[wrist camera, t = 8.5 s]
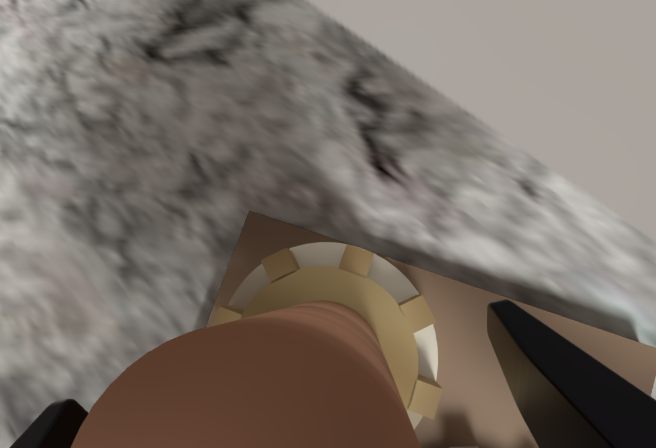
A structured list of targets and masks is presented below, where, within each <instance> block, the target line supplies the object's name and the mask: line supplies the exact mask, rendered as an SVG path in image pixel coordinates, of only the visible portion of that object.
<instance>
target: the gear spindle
mask: <svg viewBox="0 0 656 448" xmlns="http://www.w3.org/2000/svg"><path fill="white" fill-rule="evenodd" d="M373 255H374V253H372V252H370V251H367V250H364V249H361V248H358V247H355V246H352V245H349V244H347V245H346V248H345V251H344V254H343V257H342V259H341V262H340V265H339V267H333V266H313V267H305V268H302V269H300V267H299V265H298V263H297V261H296V258H295V256H294V254H293V252H292V251H291V250H289V249H288V248H285V249H283V250H280V251H278V252H276V253H274V254H272V255H270V256H268V257H266V258H264V259H262V260H261V262H262V264H263V267H264V269H265V271H266V273H267V275H268V278H269V280H270V282H271V283H269V284H268V285H267V286H265V287H264V288H263V289H262V290H261V291H260V292H259V293H258V294H257V295H256V296H255V297H254V298H253V299H252V301H251V302H250V303H249V304H248V306H247V307H246V309H245V310H243V309H241V308H238V307H235V306H232V305H226V306H219V308H218V311H217V313H216V316H215V319H214V321H213V324H212V326H211V327H208V328H204V329H200V330H196V331H192V332H189V333H187V334H184V335H182V336H179V337H177V338H174V339H172V340H170V341H167V342H166V343H164V344H162V345H160V346H159V347H157V348H155V349H153V350H152V351H150V352H148V353H147V354H145V355H144V356H143V357H141V358H140V359H139V360H137V361H136V362H135V363H133V364H132V365H131V366H129V367H128V368H127V369H126V370H125V371H124V372H123V373H122V374H121V375H120V376H119V377H118V378H117V379H116V380H115V381H114V382H113V383H112V384H110V386H109V387H108V388H107V389H106V391H105V392H104V393H103V394H102V396H101V397H100V398H99V399H98V401H97V402H96V403H95V404H94V406H93V407H92V409H91V411H90V412H89V414H88V415H87V417H86V419H85V420H84V422H83V423H82V425H81V427H80V429H79V431H78V433H77V435H76V437H75V439H74V441H73V444H72V446H71V448H421V446H420V444H419V441H418V439H417V436H416V434H415V431H414V429H413V426H412V423H411V421H410V418H409V416H408V413H407V411H408V410H410V411H412V412H415V413H417V414H420V415H423V416H425V417H428V418H431V419H433V420H434V417H435V414H436V410H437V407H438V404H439V400H440V397H441V394H442V390H443V389H442V388H441V386H440V385H439V384H438V383H437V382H436V381H435V380H433V379H430V378H428V377H425V376H422V375H419V374H418V353H417V346H416V341H415V338H414V334H413V333H415V332H417V331H420V330H422V329H424V328H426V327H428V326H430V325H432V324H434V323H436V320H435V318H434V316H433V314H432V313H431V311H430V309H429V307H428V305H427V303H426V301H425V299H424V297H423V295H418V294H417V295H415V296H413V297H410V298H408V299H406V300H404V301H402V302H400V303H398V304H397V302H396V301H395V300H394V298H393V297H392V296H391V295H390V294H389V293H388V292H387V291H386V290H385V289H383V288H382V287H381V286H380V285H378V284H377V283H376V282H374V281H373V280H371V279H369V278H367V277H366V276H367V273H368V270H369V267H370V264H371V261H372V258H373Z"/></svg>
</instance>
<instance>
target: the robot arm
mask: <svg viewBox="0 0 656 448" xmlns="http://www.w3.org/2000/svg"><path fill="white" fill-rule="evenodd" d="M487 333H488V336H489V339H490V342H491V344H492V347H493V349H494V352H495V354H496V356H497V359H498V361H499V364H500V366H501V369H502V371H503V374H504V376H505V378H506V381H507V383H508V386H509V388H510V391H511V393H512V396H513V398H514V400H515V403H516V405H517V407H518V409H519V411H520V413H521V415H522V417H523V419H524V421H525V423H526V425H527V426H528V428H529V430H530V432H531V434H532V436H533V438H534V439H535V441H536V443H537V445H538V447H539V448H656V400H655V399H653V398H652V397H650V396H649V395H647V394H646V393H645V392H643V391H642V390H640V389H639V388H637V387H636V386H634V385H633V384H631V383H630V382H629V381H627V380H626V379H624V378H623V377H621V376H620V375H618V374H617V373H615V372H614V371H613V370H611V369H610V368H608V367H607V366H605V365H604V364H602V363H601V362H599V361H598V360H597V359H595V358H594V357H592V356H591V355H589V354H588V353H586V352H585V351H583V350H582V349H581V348H579V347H578V346H576V345H575V344H573V343H572V342H570V341H569V340H567V339H566V338H565V337H563V336H562V335H560V334H559V333H557V332H556V331H554V330H553V329H552V328H550V327H549V326H547V325H546V324H544V323H543V322H541V321H540V320H538V319H537V318H536V317H534V316H533V315H531V314H530V313H528V312H527V311H525V310H524V309H522V308H521V307H520V306H518V305H517V304H515V303H514V302H512V301H511V300H508V299H502V300H498V301H494V302H490V303H489V304H488V306H487ZM88 414H89V413H88V412H87V411H86V410H85V409H84V408H83V407H82V406H81V405H80V404H79V403H78V402H77V401H75V400H74V399H66V400H62V401H57V402H54V403H52V404H50V405H49V406H48V407H47V408H46V409H45V410H44V411H43V412H42V413H41V415H40V416H39V417H38V418H37V419H36V420H35V421H34V422H33V423H32V424H31V425H30V426H29V427H28V428H27V430H26V431H25V432H24V433H23V434H22V435H21V436H20V437H19V438H18V439H17V440H16V441H15V442H14V444H13V445H12V446H11V447H10V448H71V446H72V444H73V441H74V439H75V437H76V435H77V433H78V431H79V429H80V427H81V425H82V423H83V422H84V420H85V419H86V417H87V415H88Z"/></svg>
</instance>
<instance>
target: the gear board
mask: <svg viewBox="0 0 656 448" xmlns="http://www.w3.org/2000/svg"><path fill="white" fill-rule="evenodd" d="M346 245H347V243H344V242H341V241H338V240H335V239H332V238H329V237H326V236H323V235H320V234H317V233H314V232H311V231H308V230H305V229H302V228H300V227H297V226H294V225H291V224H288V223H285V222H282V221H279V220H276V219H273V218H270V217H267V216H264V215H261V214H258V213H255V212H252V211H249V213H248V216H247V218H246V221H245V224H244V226H243V229H242V232H241V234H240V237H239V240H238V242H237V245H236V248H235V250H234V253H233V256H232V258H231V261H230V264H229V266H228V269H227V272H226V274H225V277H224V280H223V282H222V285H221V288H220V290H219V293H218V295H217V298H216V301H215V303H214V306H213V309H212V311H211V314H210V317H209V319H208V322H207V325H206V327H205V328H208V327H211V326H212V324H213V321H214V319H215V316H216V313H217V311H218V308H219V306H226V305H232V306H235V307H238V308H241V309H243V310H245V309H246V307H247V306H248V304H249V303H250V302H251V301H252V299H253V298H254V297H255V296H256V295H257V294H258V293H259V292H260V291H261V290H262V289H263V288H264V287H265V286H267V285H268V284H269V283H271V282H270V280H269V278H268V275H267V273H266V271H265V269H264V267H263V264H262V262H261V260H262V259H264V258H266V257H268V256H270V255H272V254H274V253H276V252H278V251H280V250H283V249H285V248H288V249H289V250H291V251H292V252H293V254H294V256H295V258H296V261H297V263H298V265H299V267H300V269H302V268H305V267H313V266H333V267H339V265H340V262H341V259H342V257H343V254H344V251H345V248H346ZM349 245H350V244H349ZM352 246H353V245H352ZM355 247H356V246H355ZM358 248H360V247H358ZM361 249H363V248H361ZM364 250H365V249H364ZM367 251H368V250H367ZM370 252H371V251H370ZM372 253H373V252H372ZM366 277H367V278H369V279H371V280H373V281H374V282H376V283H377V284H378V285H380V286H381V287H382V288H383V289H385V290H386V291H387V292H388V293H389V294H390V295H391V296H392V297H393V298H394V300H395V301H396V302H397V304H398V303H400V302H402V301H404V300H406V299H408V298H410V297H413V296H415V295H417V294H418V295H423V297H424V299H425V301H426V303H427V305H428V307H429V309H430V311H431V313H432V314H433V316H434V318H435V320H436V323H434V324H432V325H430V326H428V327H426V328H424V329H422V330H420V331H417V332H415V333H413V334H414V338H415V341H416V346H417V353H418V374H419V375H422V376H425V377H428V378H430V379H433V380H435V381H436V382H437V383H438V384H439V385H440V386H441V388H442V389H443V390H442V394H441V397H440V400H439V404H438V407H437V410H436V414H435V417H434V420H433V419H431V418H428V417H425V416H423V415H420V414H417V413H415V412H412V411H410V410H408V411H407V413H408V416H409V418H410V421H411V423H412V426H413V429H414V431H415V434H416V436H417V439H418V441H419V444H420V446H421V448H539V447H538V445H537V443H536V441H535V439H534V438H533V436H532V434H531V432H530V430H529V428H528V426H527V425H526V423H525V421H524V419H523V417H522V415H521V413H520V411H519V409H518V407H517V405H516V403H515V400H514V398H513V396H512V393H511V391H510V388H509V386H508V383H507V381H506V378H505V376H504V374H503V371H502V369H501V366H500V364H499V361H498V359H497V356H496V354H495V352H494V349H493V347H492V344H491V342H490V339H489V336H488V333H487V306H488V304H489V303H490V302H494V301H498V300H502V299H508V300H511V301H512V302H514V303H515V304H517V305H518V306H520V307H521V308H522V309H524V310H525V311H527V312H528V313H530V314H531V315H533V316H534V317H536V318H537V319H538V320H540V321H541V322H543V323H544V324H546V325H547V326H549V327H550V328H552V329H553V330H554V331H556V332H557V333H559V334H560V335H562V336H563V337H565V338H566V339H567V340H569V341H570V342H572V343H573V344H575V345H576V346H578V347H579V348H581V349H582V350H583V351H585V352H586V353H588V354H589V355H591V356H592V357H594V358H595V359H597V360H598V361H599V362H601V363H602V364H604V365H605V366H607V367H608V368H610V369H611V370H613V371H614V372H615V373H617V374H618V375H620V376H621V377H623V378H624V379H626V380H627V381H629V382H630V383H631V384H633V385H634V386H636V387H637V388H639V389H640V390H642V391H643V392H645V393H646V394H647V395H649V396H650V397H651V393H652V388H653V384H654V380H655V376H656V348H654V347H652V346H649V345H646V344H643V343H640V342H637V341H634V340H631V339H628V338H625V337H622V336H619V335H616V334H613V333H610V332H607V331H604V330H601V329H598V328H595V327H592V326H589V325H586V324H583V323H581V322H578V321H575V320H572V319H569V318H566V317H563V316H560V315H557V314H554V313H551V312H548V311H545V310H542V309H539V308H536V307H533V306H530V305H527V304H524V303H521V302H518V301H515V300H512V299H510V298H507V297H504V296H501V295H498V294H495V293H492V292H489V291H486V290H483V289H480V288H477V287H474V286H471V285H468V284H465V283H462V282H459V281H456V280H453V279H450V278H447V277H444V276H442V275H439V274H436V273H433V272H430V271H427V270H424V269H421V268H418V267H415V266H412V265H409V264H406V263H403V262H400V261H397V260H394V259H391V258H388V257H385V256H382V255H379V254H376V253H374V255H373V258H372V261H371V264H370V267H369V270H368V273H367V276H366Z"/></svg>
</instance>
